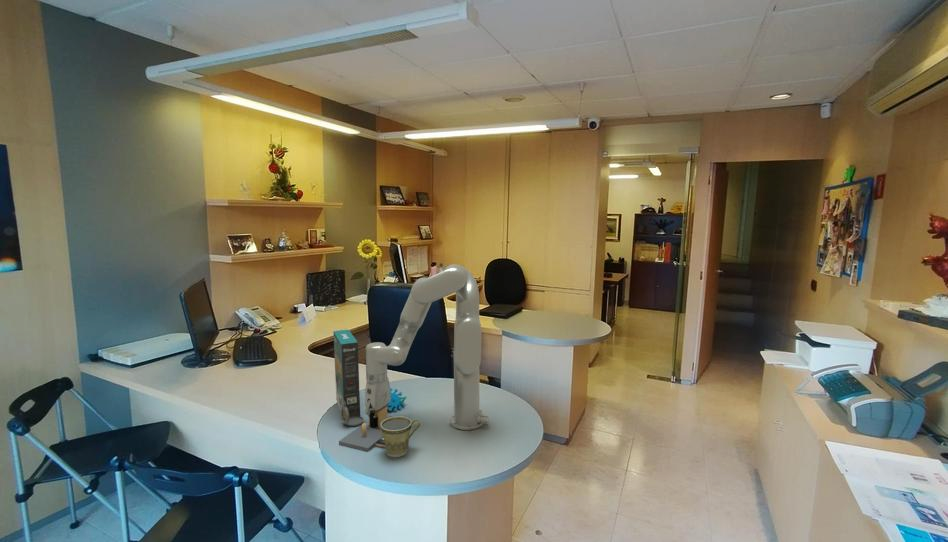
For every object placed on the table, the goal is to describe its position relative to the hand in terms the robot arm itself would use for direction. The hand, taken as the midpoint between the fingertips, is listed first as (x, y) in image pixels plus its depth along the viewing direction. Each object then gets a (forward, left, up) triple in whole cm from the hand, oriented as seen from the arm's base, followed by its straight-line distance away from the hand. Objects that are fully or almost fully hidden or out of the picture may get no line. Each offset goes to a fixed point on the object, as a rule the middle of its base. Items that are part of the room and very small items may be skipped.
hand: (378, 423), depth 157 cm
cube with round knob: (0, 0, -1) cm, 1 cm away
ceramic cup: (-18, +12, -1) cm, 22 cm away
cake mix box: (+20, -7, -1) cm, 21 cm away
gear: (+2, -14, -1) cm, 14 cm away
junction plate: (-4, +11, -1) cm, 12 cm away
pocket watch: (+10, +3, -1) cm, 10 cm away
